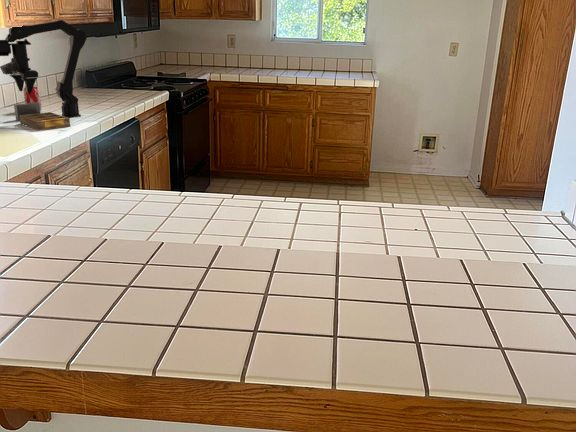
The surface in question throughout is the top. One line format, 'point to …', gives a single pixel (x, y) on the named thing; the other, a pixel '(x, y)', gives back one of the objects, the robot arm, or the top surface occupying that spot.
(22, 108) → the block
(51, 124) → the rack
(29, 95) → the soda can
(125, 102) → the top surface
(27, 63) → the robot arm
